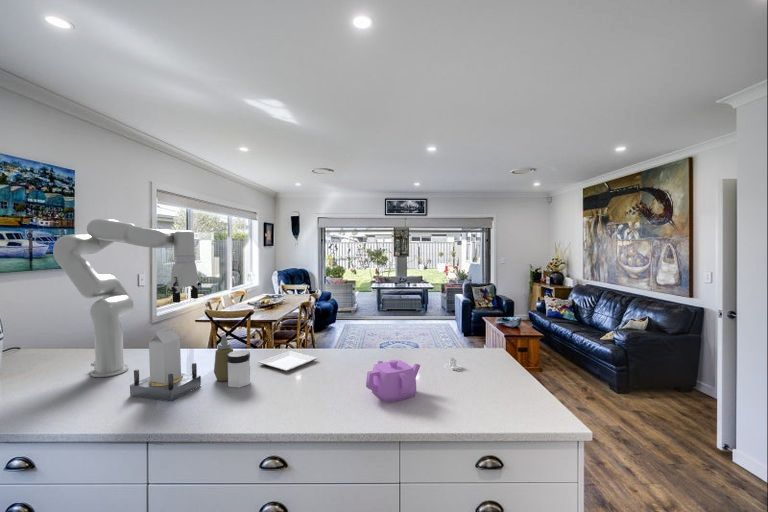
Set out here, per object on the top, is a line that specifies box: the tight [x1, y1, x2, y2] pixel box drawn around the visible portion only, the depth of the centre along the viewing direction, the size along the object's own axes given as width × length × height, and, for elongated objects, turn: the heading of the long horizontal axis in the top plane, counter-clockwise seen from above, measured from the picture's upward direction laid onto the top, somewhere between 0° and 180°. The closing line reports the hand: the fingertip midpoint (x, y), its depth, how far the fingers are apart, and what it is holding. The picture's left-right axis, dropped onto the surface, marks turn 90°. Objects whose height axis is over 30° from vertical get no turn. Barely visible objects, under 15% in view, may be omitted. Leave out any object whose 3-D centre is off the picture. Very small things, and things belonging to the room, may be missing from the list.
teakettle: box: [365, 359, 421, 404], centre depth 135 cm, size 17×17×12 cm
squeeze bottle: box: [213, 334, 234, 382], centre depth 147 cm, size 8×8×18 cm
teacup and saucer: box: [443, 357, 463, 371], centre depth 162 cm, size 9×8×4 cm
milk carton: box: [148, 326, 182, 384], centre depth 136 cm, size 7×7×19 cm
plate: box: [258, 350, 318, 372], centre depth 166 cm, size 19×19×2 cm
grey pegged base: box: [129, 362, 202, 403], centre depth 136 cm, size 18×14×9 cm
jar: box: [227, 349, 251, 389], centre depth 143 cm, size 9×8×12 cm
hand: (185, 300), depth 155 cm, fingers open, 9 cm apart
